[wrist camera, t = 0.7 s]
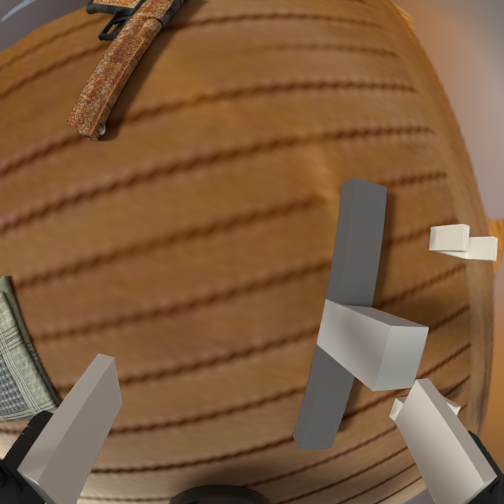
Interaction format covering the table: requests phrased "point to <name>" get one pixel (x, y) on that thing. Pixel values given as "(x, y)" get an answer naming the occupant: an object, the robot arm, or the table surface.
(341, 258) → the bar
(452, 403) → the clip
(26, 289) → the table surface
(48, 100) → the table surface
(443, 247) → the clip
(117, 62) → the decorative handgun
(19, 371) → the dish towel
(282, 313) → the table surface
